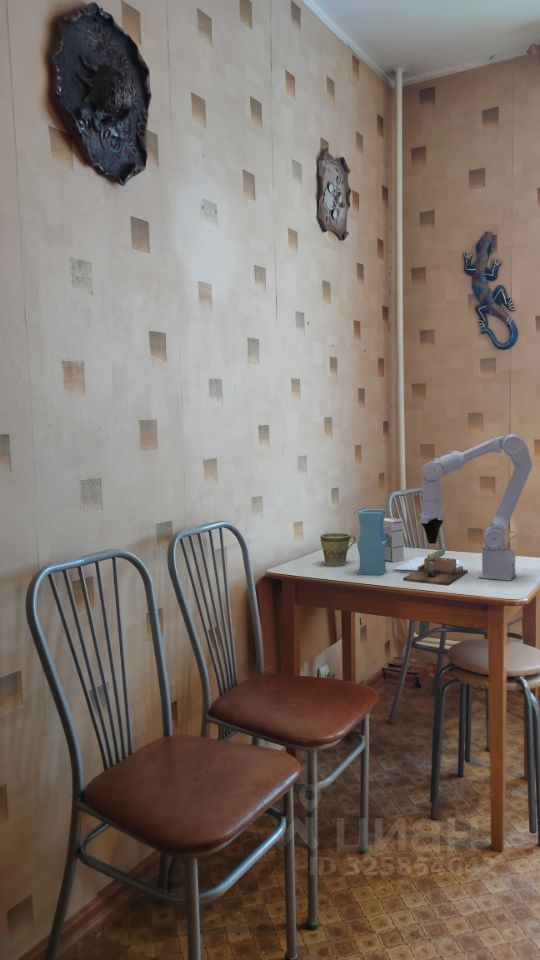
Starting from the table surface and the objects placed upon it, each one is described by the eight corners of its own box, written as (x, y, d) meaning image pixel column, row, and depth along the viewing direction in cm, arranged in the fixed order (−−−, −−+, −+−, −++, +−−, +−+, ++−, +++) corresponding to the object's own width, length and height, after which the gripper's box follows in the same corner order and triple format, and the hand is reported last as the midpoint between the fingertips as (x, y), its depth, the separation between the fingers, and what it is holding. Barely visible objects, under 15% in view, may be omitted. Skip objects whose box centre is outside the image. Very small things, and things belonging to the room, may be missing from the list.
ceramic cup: (329, 568, 237) (329, 538, 236) (315, 563, 246) (315, 534, 245) (363, 564, 242) (362, 535, 241) (348, 559, 251) (347, 531, 250)
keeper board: (467, 572, 225) (467, 555, 224) (448, 585, 209) (448, 566, 208) (425, 568, 232) (425, 551, 232) (403, 580, 216) (403, 562, 216)
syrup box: (404, 560, 247) (403, 518, 245) (391, 562, 243) (391, 520, 242) (392, 557, 251) (392, 517, 250) (380, 560, 248) (379, 518, 247)
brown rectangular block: (456, 571, 223) (456, 558, 223) (452, 574, 220) (452, 560, 219) (428, 568, 228) (428, 556, 227) (424, 571, 224) (424, 558, 224)
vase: (382, 575, 223) (381, 512, 222) (357, 574, 226) (356, 512, 224) (387, 570, 231) (386, 509, 229) (363, 569, 234) (362, 509, 232)
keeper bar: (433, 561, 215) (433, 556, 215) (426, 560, 216) (426, 555, 216) (446, 554, 225) (446, 549, 225) (439, 553, 226) (439, 548, 226)
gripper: (427, 497, 230) (428, 538, 231) (411, 502, 217) (411, 546, 219) (448, 497, 226) (449, 540, 227) (433, 503, 214) (433, 547, 215)
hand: (432, 543), depth 223 cm, fingers closed
